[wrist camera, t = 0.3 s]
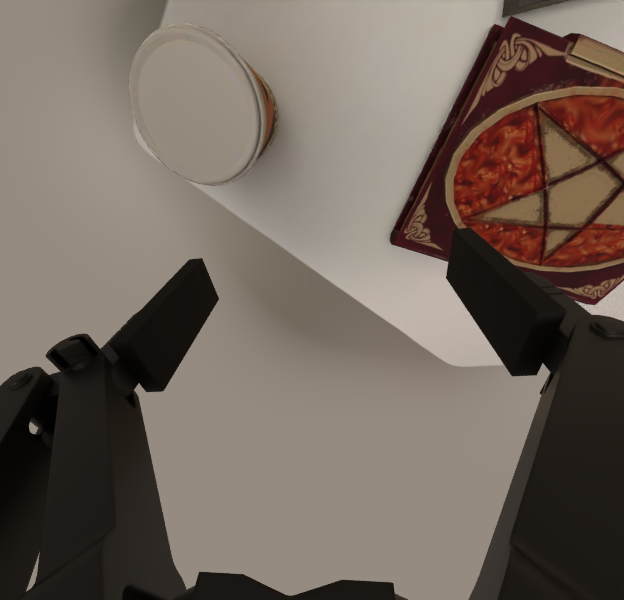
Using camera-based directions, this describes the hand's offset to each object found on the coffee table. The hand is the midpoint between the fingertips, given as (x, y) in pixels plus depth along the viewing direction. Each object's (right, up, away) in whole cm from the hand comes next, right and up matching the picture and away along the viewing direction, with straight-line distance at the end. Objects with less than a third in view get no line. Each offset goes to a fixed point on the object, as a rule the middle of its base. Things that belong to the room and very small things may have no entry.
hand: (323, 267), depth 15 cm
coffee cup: (-8, +18, +14) cm, 24 cm away
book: (+26, +11, +16) cm, 32 cm away
